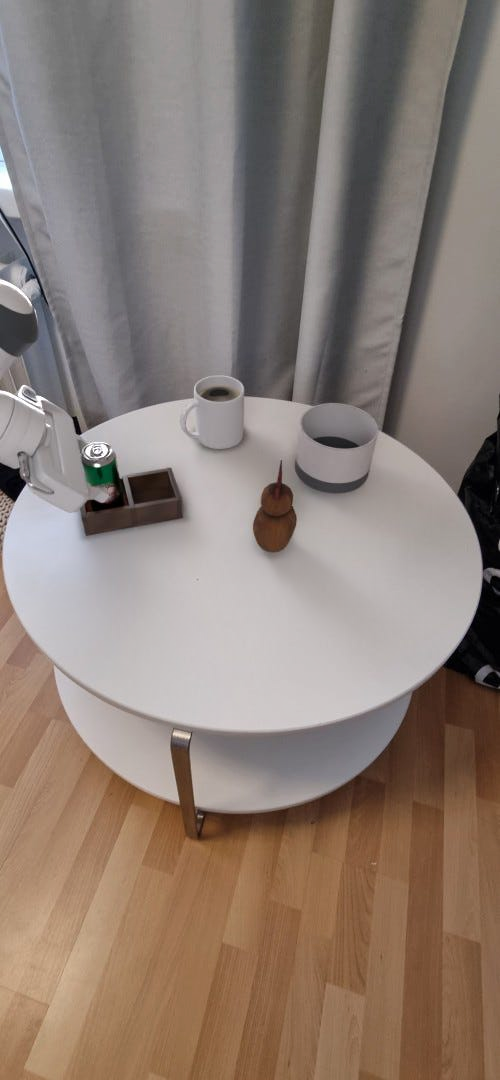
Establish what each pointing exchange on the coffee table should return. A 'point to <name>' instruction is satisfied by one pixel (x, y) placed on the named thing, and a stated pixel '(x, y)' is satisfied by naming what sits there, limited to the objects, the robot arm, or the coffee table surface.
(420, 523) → the coffee table surface
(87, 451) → the soda can
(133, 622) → the coffee table surface
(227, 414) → the mug
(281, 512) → the wooden figurine
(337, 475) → the planter
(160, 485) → the holder
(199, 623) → the coffee table surface
